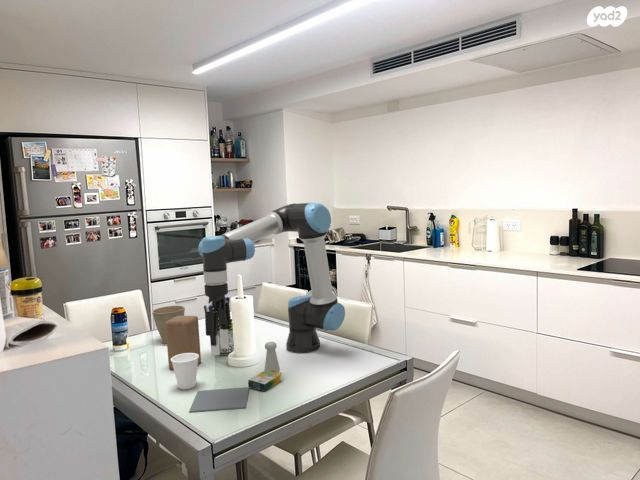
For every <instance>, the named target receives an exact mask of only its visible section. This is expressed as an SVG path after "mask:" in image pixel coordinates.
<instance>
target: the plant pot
mask: <svg viewBox="0 0 640 480" xmlns="http://www.w3.org/2000/svg"><path fill="white" fill-rule="evenodd" d="M151 312H152V317H153V320H154V324H155V326H156V329H157V331H158V334H159V337H160V338H161V341H162V343H164V344H166V345H167V337H166V321H168V320H170V319H172V318H174V317H176V316H185V306H183V305H167V306H165V305H164V306H161V307H158V308H155V309H153V310H152V311H151Z"/></svg>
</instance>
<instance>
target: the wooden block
mask: <svg viewBox="0 0 640 480" xmlns="http://www.w3.org/2000/svg"><path fill="white" fill-rule="evenodd" d="M166 337H167V344H166V346H167V347H166V348H167V357H168V358H167V359H168V368H169V370H174V368H173V365H172V361H171V358H172V357H174V356H176V355H179V354H183V353H196V354H198V355H199V357H198V365H199V364H200V363H201V361H202V357H201V356H202V354H201V343H200V329H199V317H198V316H197V315H184V316H176V317H174V318H172V319H170V320H168V321H166Z"/></svg>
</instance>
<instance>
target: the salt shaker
mask: <svg viewBox="0 0 640 480" xmlns="http://www.w3.org/2000/svg"><path fill="white" fill-rule="evenodd" d="M264 349H265V350H266V354H265V361H264V370H263V371H265V370H268V371H270V372H273V371H277V372H280V370H281V367H280V364H279V360H278V359H279V358H278V355H277V352H276V349H277V343H276V342H275V341H268V342H267V341H266V343H265V344H264ZM277 372H273V373H277Z"/></svg>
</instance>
